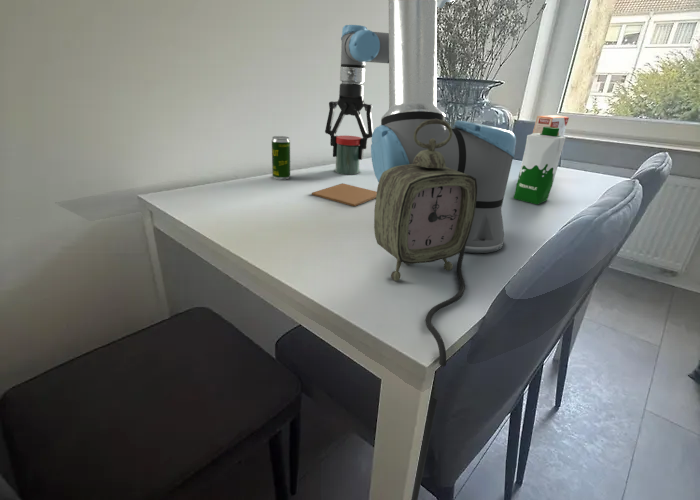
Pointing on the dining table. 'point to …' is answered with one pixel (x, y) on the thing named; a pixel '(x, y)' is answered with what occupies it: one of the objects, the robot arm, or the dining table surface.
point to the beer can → (281, 157)
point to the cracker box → (551, 123)
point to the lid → (348, 140)
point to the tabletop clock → (424, 207)
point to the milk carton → (539, 165)
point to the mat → (346, 194)
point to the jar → (347, 159)
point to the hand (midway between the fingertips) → (347, 157)
